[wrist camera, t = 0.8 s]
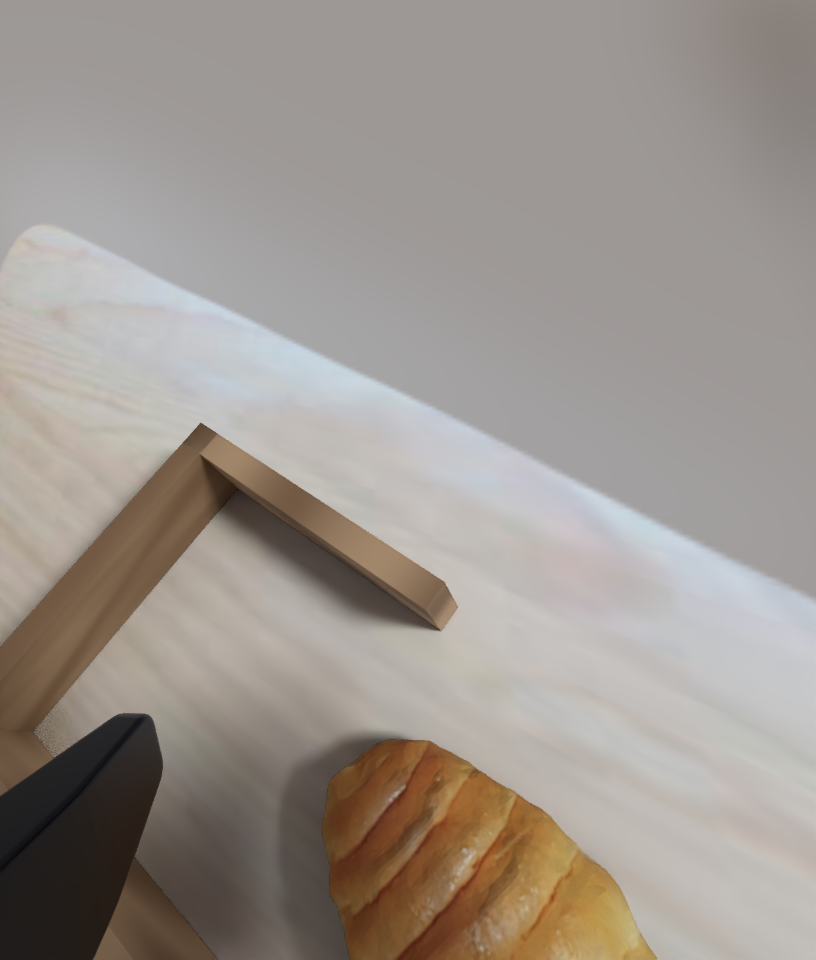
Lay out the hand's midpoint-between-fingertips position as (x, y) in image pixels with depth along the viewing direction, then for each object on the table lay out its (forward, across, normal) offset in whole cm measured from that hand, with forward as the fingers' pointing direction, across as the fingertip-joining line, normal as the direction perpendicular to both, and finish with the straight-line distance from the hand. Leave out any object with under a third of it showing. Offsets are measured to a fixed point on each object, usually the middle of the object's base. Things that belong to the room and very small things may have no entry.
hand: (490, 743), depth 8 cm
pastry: (+5, 0, +12) cm, 13 cm away
